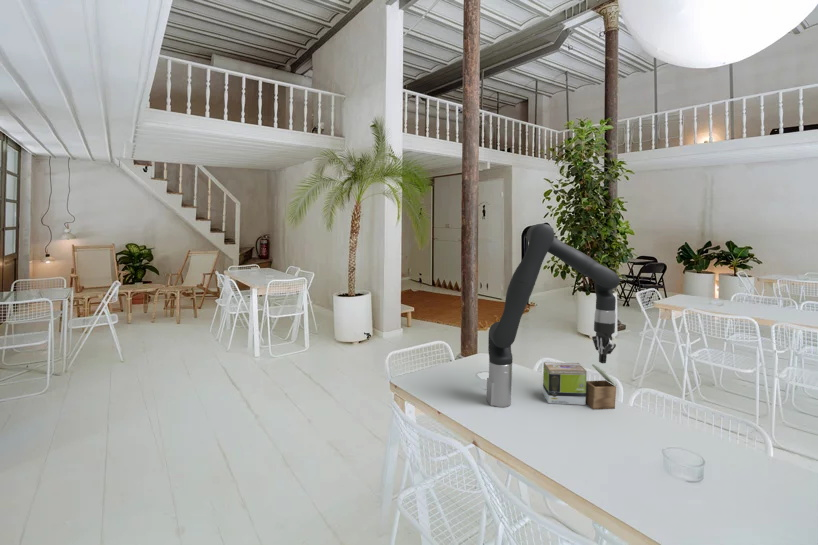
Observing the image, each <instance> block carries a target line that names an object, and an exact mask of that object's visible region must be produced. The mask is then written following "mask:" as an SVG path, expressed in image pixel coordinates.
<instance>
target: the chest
mask: <svg viewBox="0 0 818 545" xmlns="http://www.w3.org/2000/svg"><path fill="white" fill-rule="evenodd" d="M616 394H617V385H616V386H615V385H613V384H612V383H610V382H609V381H607V380H605V379H604V380H586V404H585V405H587V406H588V407H589V408H591V409H592V410H610V409H611V410H612V409H613V410H614V409H616V398H617V397H616V396H617V395H616Z"/></svg>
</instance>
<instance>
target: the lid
mask: <svg viewBox="0 0 818 545" xmlns="http://www.w3.org/2000/svg"><path fill="white" fill-rule="evenodd" d="M591 366H592V367H593V368H594V369H595V370H596V371H597V372H598V373H599V374H600V376H601V377H602V378H603V379H604V380H606V381H608V382H609V383H611V384H612V385H614V386H616V387H617V383H616V382H615V381H614V380H613V379H612V378H611V377H610V376H609V375H608V374H607V373H606V371H605V370H603V369H602V368H600V367H599V366H597V365H595V364H592V365H591Z"/></svg>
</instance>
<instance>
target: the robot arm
mask: <svg viewBox="0 0 818 545" xmlns="http://www.w3.org/2000/svg"><path fill="white" fill-rule="evenodd" d="M526 239H527V240H526V241H527V242H528V246H527V248H526V251H525V254H524V256H523V258H522V260H521V261H520V263H519V264H518V266H517V267H516V269H515V270H514V271H513V272H514V273H512V276H511V278H510V282H509V284H508V287H507V290H506V295H505V300H504V309H503V312H502V314H501V317H500V319H499V321H495V322H493V323H492V325H490V327H489V329H488V340H487V341H488V344H487V345H488V350H487V351H488V356H489V358H488V377H487V378H486V397H485V398H486V401H487V402H488V405H490V406H491V407H498V408H506V407H509V406H511V405H512V386H513V385H512V382H513V354H512V345H513V343H514V342H515V340H516V337H517V332H518V329H519V326H520V322H521V319H522V317H523V314H524V312H525V309H526V308H527V305H528V303H529V300H530V297H531V296H532V293H533V290H534V288H535V286H536V282H537V280H538V277H539V274H540V272H541V267H542V265H543V262H544V259H545V258H546V255H547V254H548V253H549V254H551V255H552V256H554V257H556V258H558V259H559V260H560V261H562V262H563V263H565V264H566V265H567V266H569V267H571V268H573V269H574V270H575V271H577V272H578V273H580V274H582V275H583V276H585V277H588V278H589V279H591V280H592V281H594V283H593V285H594V291H595V297H596V298H595V311H594V320H593V323H594V324H593V332H595V335H594V336H592V337H591V338H592V343H593V345H594V348H595V350H596V351H597V352H598V362H599V363H600V364H607V355H611V354H612V352H613V351H614V350H615V348H616V347H617V344H616V343H614V342H613V335H614V334H615V332H616V305H617V304H616V303H617V302H616V301H617V300H616V299H617V298H616V296H615V295H614V294H613V290H614V289H616V288H617V287H618V286H619V285H620V277H619V276H620V275H618V273H616V272H615V271H614V270H612V269H610V268H608V267H606V266H605V265H603V264H600V263H599V262H597V261H596V260H595V259H593V258H592V257H591V256H589V255H587V254H585V253H584V252H582V251H581V250H579V249H576V248H574V247H572V246H570V245H568V244H566V243H564V242H563V241H561V240H560V239H558V238H557V237H556V235H555V231H554V228H553V227H552V226H551V225H549V224H547V223H538V224H534V225H532V226H530V227H529V228H528V229H527V231H526Z"/></svg>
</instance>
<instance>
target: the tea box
mask: <svg viewBox="0 0 818 545" xmlns="http://www.w3.org/2000/svg"><path fill="white" fill-rule="evenodd" d="M542 378H543V379H542V381H543V382H542V394H543V397H544V398H545V400H546V402H547V403H548V404H556V405H557V404H558V405H581V406H585V405H587V404H586V381H587V370H586V369H585V367H584V366H582V365H581V364H580V363H579V362H545V361H544V362H543V376H542Z"/></svg>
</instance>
